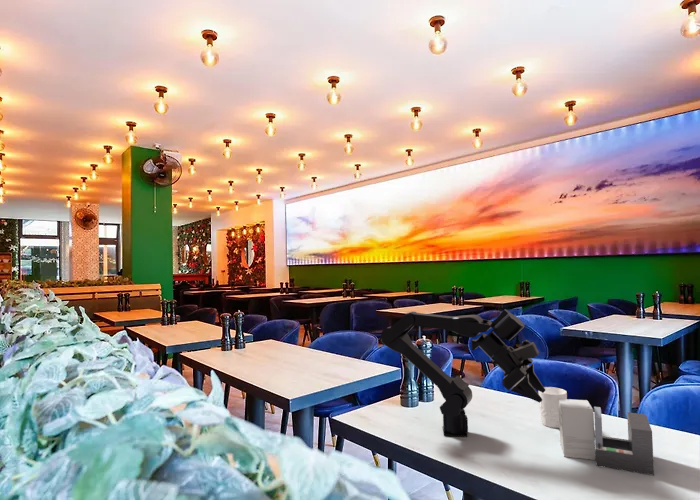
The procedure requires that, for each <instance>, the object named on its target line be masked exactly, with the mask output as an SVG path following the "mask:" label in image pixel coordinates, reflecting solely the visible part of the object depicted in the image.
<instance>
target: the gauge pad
mask: <svg viewBox="0 0 700 500" xmlns="http://www.w3.org/2000/svg"><path fill="white" fill-rule="evenodd" d="M593 413H594V435H595V441H596V446H598V448H601V447H603V440H602V436H603V421H602V419H603V418H602V409H601V407H600V406H593ZM600 446H601V447H600Z"/></svg>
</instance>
